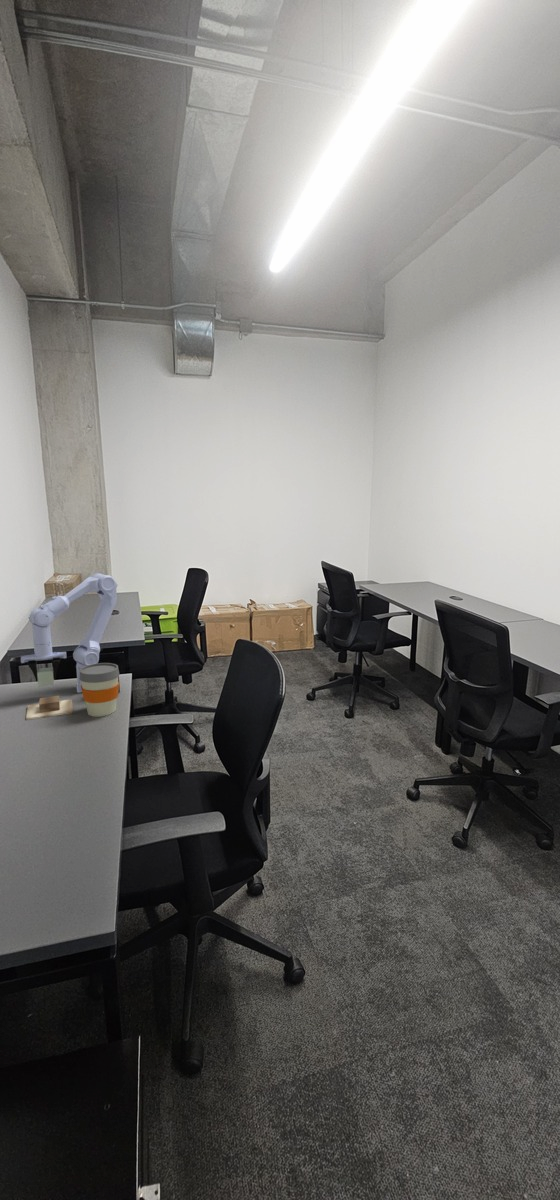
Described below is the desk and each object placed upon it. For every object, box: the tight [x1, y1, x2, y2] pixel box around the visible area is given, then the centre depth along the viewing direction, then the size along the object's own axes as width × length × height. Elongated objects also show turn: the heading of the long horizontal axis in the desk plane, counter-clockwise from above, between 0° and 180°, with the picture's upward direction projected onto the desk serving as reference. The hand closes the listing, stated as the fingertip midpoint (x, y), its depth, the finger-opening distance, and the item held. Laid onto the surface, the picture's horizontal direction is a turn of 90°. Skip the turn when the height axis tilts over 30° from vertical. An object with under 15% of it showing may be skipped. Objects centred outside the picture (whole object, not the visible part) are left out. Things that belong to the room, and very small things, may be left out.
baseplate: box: [25, 695, 74, 721], centre depth 170 cm, size 14×12×4 cm
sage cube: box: [37, 666, 55, 687], centre depth 179 cm, size 5×5×5 cm
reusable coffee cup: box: [79, 662, 120, 717], centre depth 168 cm, size 13×13×15 cm
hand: (46, 679), depth 180 cm, fingers closed on sage cube, 5 cm apart
